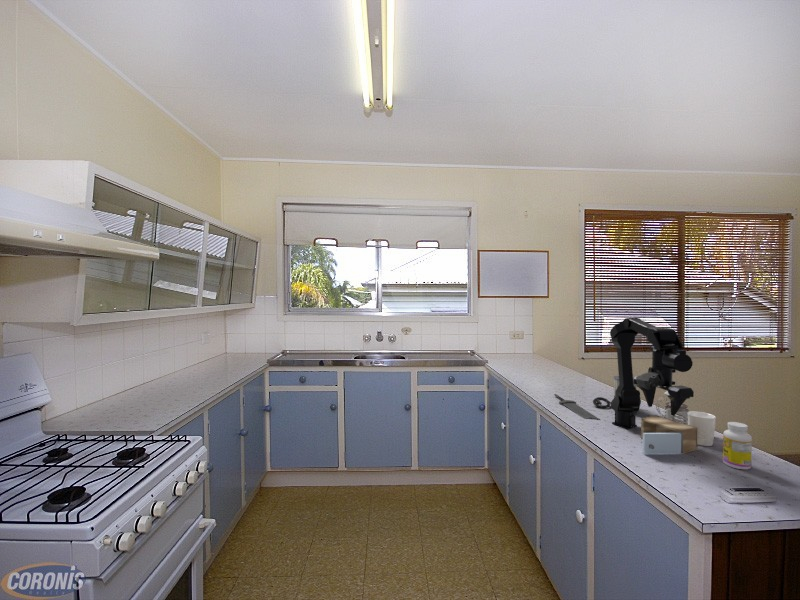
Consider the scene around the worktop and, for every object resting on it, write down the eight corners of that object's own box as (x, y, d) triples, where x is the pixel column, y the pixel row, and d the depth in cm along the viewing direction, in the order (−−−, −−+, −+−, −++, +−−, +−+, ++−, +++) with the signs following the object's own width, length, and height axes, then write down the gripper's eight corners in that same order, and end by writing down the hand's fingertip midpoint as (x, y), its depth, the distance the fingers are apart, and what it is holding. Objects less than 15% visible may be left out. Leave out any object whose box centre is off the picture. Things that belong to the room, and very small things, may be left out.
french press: (697, 435, 144) (698, 368, 143) (662, 432, 146) (663, 367, 145) (683, 426, 153) (684, 363, 153) (651, 424, 156) (652, 362, 155)
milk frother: (641, 414, 168) (641, 380, 168) (604, 414, 169) (605, 380, 168) (623, 404, 182) (623, 373, 182) (589, 404, 183) (589, 373, 182)
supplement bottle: (722, 458, 124) (723, 419, 123) (750, 464, 119) (751, 423, 119) (722, 466, 118) (723, 424, 118) (752, 472, 114) (752, 429, 114)
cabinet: (641, 439, 140) (641, 418, 140) (655, 435, 143) (655, 415, 143) (682, 453, 127) (683, 431, 127) (697, 449, 131) (697, 427, 130)
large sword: (585, 422, 161) (585, 417, 161) (547, 396, 196) (548, 392, 196) (601, 421, 161) (601, 417, 161) (561, 396, 196) (561, 392, 196)
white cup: (703, 448, 132) (704, 419, 132) (681, 439, 140) (681, 412, 139) (720, 445, 134) (721, 417, 134) (698, 437, 142) (698, 410, 141)
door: (646, 455, 126) (646, 433, 125) (642, 452, 128) (642, 431, 127) (685, 455, 125) (686, 433, 125) (681, 452, 127) (681, 431, 127)
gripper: (620, 361, 138) (619, 404, 139) (665, 372, 120) (664, 422, 121) (647, 359, 140) (646, 402, 141) (695, 371, 122) (694, 419, 123)
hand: (661, 411), depth 131 cm, fingers open, 9 cm apart
